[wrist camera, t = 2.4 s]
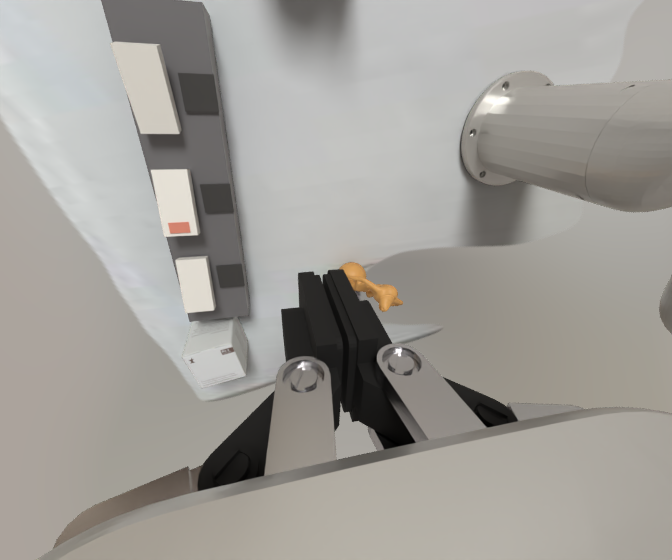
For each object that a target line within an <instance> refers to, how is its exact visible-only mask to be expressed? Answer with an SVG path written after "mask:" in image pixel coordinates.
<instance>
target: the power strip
mask: <svg viewBox="0 0 672 560" xmlns="http://www.w3.org/2000/svg"><path fill="white" fill-rule="evenodd" d="M101 1H102V5H103V9H104V12H105V16H106V20H107V23H108V27H109V30H110V34H111V38H112V41H113V42H130V43H146V44H160V46H161V50H162V54H163V58H164V62H165V66H166V70H167V74H168V78H169V82H170V86H171V89H172V93H173V97H174V101H175V105H176V109H177V113H178V117H179V121H180V125H181V129H182V130H181V132H180V134H141V133H140V130H139V127H138V124H137V121H136V118H135V115H134V112H133V109H132V106H131V103H130V100H129V103H130V107H131V110H132V114H133V118H134V121H135V125H136V128H137V132H138V136H139V139H140V143H141V147H142V150H143V154H144V157H145V161H146V165H147V168H148V172H149V176H150V179H151V183H152V187H153V190H154V194H155V189H154V184H153V179H152V174H151V170H168V169H189V170H190V173H191V179H192V185H193V191H194V197H195V203H196V210H197V216H198V222H199V228H200V234H199V235H190V236H171V237H167V241H168V245H169V248H170V252H171V255H172V259H173V263H174V266H175V270H176V274H177V277H178V272H177V267H176V262H175V260H176V259H178V258H182V257H197V256H208V259H209V266H210V272H211V278H212V285H213V291H214V297H215V304H216V307H215V310H213V311H203V312H193V313H187V314H188V317H189V321H190V322H193V321H202V320H212V319H221V318H231V317H240V316H249V301H250V297H249V290H248V283H247V276H246V269H245V262H244V255H243V248H242V241H241V234H240V227H239V220H238V213H237V206H236V199H235V192H234V185H233V178H232V171H231V164H230V157H229V149H228V142H227V135H226V128H225V121H224V114H223V107H222V100H221V93H220V86H219V79H218V72H217V65H216V58H215V51H214V44H213V37H212V30H211V23H210V16H209V13H208V12H207V10H206V8H205V6H204V5H203V3H202V2H192V1H181V0H101ZM127 96H128V95H127ZM128 99H129V97H128ZM155 197H156V194H155ZM156 201H157V199H156ZM157 205H158V204H157ZM178 281H179V277H178ZM179 285H180V282H179Z"/></svg>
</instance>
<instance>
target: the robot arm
mask: <svg viewBox="0 0 672 560" xmlns="http://www.w3.org/2000/svg"><path fill="white" fill-rule="evenodd" d="M461 150H462V158H463V162H464V165H465V167H466V169H467V171H468V172H469V173H470V175H471V176H472V177H473V178H475V179H476V180H478V181H479V182H482V183H484V184H487V185H492V186H501V185H506V184H510V183H512V182H514V181H517V180H519V181H522V182H525V183H529V184H532V185H535V186H539V187H542V188H545V189H548V190H552V191H555V192H558V193H561V194H565V195H568V196H571V197H575V198H578V199H581V200H584V201H588V202H591V203H594V204H597V205H601V206H605V207H608V208H611V209H615V210H620V211H625V212H649V211H656V210H661V209H665V208H669V207H672V79H668V80H651V81H632V82H613V83H594V84H575V85H556V86H554V84H553V82H552V81H551V80H550V79H549V78H548V77H547V76H545V75H543V74H542V73H540V72H535V71H519V72H514V73H510V74H508V75H506V76H504V77H501V78H500V79H498V80H497V81H496V82H494V83H493V84H491V85H490V86H489V87H488V88H487V89H486V90H485V91H484V92H483V93H482V95H481V96H480V97H479V98H478V100H477V101H476V102H475V104H474V106H473V108H472V109H471V111H470V113H469V115H468V118H467V120H466V123H465V126H464V130H463V134H462V142H461ZM298 285H299V307H298V308H289V309H281V313H282V326H283V337H284V347H285V357H286V363H284V364H283V365H282V366H281V368H280V369H279V370H278V374H277V377H276V385H275V391H274V392H273V393H272V394H271V395H270V396H269V397H268V398H267V399H266V400H265V401H264V402H263V403H262V404H261V405H260V406H259V407H258V408H257V409H256V410H255V411H254V412H253V413H252V414H251V415H250V416H249V417H248V418H247V419H246V420H245V421H244V422H243V423H242V424H241V425H240V426H239V427H238V428H237V429H236V430H235V431H234V432H233V433H232V434H231V435H230V436H229V437H228V438H227V439H226V440H225V441H224V442H223V443H222V444H221V445H220V446H219V447H218V448H217V449H216V450H215V451H214V452H213V453H212V454H211V455H210V456H209V458H208V459H207V460H206V461H205V462H204V464H203V465H201V466H199V467H196V468H194V469H192V470H189V467H185V468H183V469H181V470H178V471H176V472H173V473H171V474H168V475H166V476H163V477H161V478H159V479H156V480H154V481H151V482H149V483H147V484H144V485H142V486H139V487H137V488H135V489H132V490H130V491H127V492H125V493H123V494H120V495H118V496H115V497H113V498H110V499H108V500H106V501H103V502H101V503H99V504H96V505H94V506H92V507H91V508H89V509H87V510H85V511H84V512H82V513H81V514H79V515H78V516H77V517H76V518H75V519H74V520H73V521H72V522H70V523H69V524H68V525H67V527H66V528H65V529H64V531H63V532H62V534H61V535H60V536H59V537H58V539H57V541H56V543H55V545H54V548H53V549H52V550H51V551H49V552H48V553H46V554H45V555H43V556H41V557H40V558H38V559H36V560H672V413H668V412H662V411H656V410H650V409H644V408H629V407H605V408H591V409H583V408H581V407H578V406H572V405H558V404H531V403H508V405H507V407H506V406H505V405H503V404H502V403H500V402H498V401H496V400H495V399H492V398H490V397H488V396H486V395H483V394H481V393H479V392H476V391H474V390H471V389H469V388H467V387H465V386H462V385H460V384H458V383H455V382H453V381H451V380H448V379H446V378H444V377H442V376H441V375H440V374H439V373H438V371H437V370H436V369H435V368H434V367H433V366H432V365H431V363H430V362H429V361H428V360H427V359H426V358H425V357H424V355H423V354H422V353H420V352H419V351H418V350H417V349H415V348H413V347H411V346H409V345H405V344H399V343H394V344H392V342H391V340H390V338H389V337H388V335H387V333H386V331H385V329H384V328H383V326H382V324H381V322H380V320H379V319H378V317H377V315H376V313H375V312H374V310H373V308H372V306H371V304H370V303H369V301H367V300H364V301H359V299H358V297H357V295H356V293H355V291H354V289H353V287H352V285H351V283H350V281H349V280H348V278H347V276H346V274H345V272H344V270H343V269H338V270H328V274H324V275H323V284H322V281H321V278H320V276H319V275H314V272H302V273H298ZM659 312H660V317H661V320H662V322H663V323H664V326H665V327H666V328H667V330H668V331H669V332H670V333H671V334H672V275H671V278H670V280H669V281H668V283H667V285H666V287H665V290H664V292H663V294H662V297H661V300H660V307H659ZM340 402H341V404H342V408H343V411H344V412H350V416H351V419H352V422H354V421H360V422H361V423H363V424H365V425H366V426H368V432H369V435H370V437H371V439H372V441H373V443H374V445H375V447H376V449H377V451H376V452H372V453H367V454H362V455H357V456H353V457H348V458H343V459H339V460H336V446H335V433H334V432H335V430H336V429H337V427H338V426H339V416H340Z"/></svg>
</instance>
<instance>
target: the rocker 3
mask: <svg viewBox="0 0 672 560" xmlns="http://www.w3.org/2000/svg"><path fill="white" fill-rule="evenodd" d="M175 262H176V267H177V272H178V277H179V282H180V288H181V293H182V298H183V303H184V308H185V313H193V312H203V311H213V310H215V307H216V304H215V297H214V291H213V285H212V278H211V272H210V266H209V259H208V256H197V257H182V258H178V259H176V260H175Z"/></svg>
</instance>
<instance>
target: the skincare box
mask: <svg viewBox="0 0 672 560" xmlns="http://www.w3.org/2000/svg"><path fill="white" fill-rule="evenodd" d="M247 346H248V340H247V337H246V335H245V333H244V330H243V328H242V326H241V324H240V321H239V319H238V317H231V318H221V319H212V320H202V321H193V322H192V323H191V326H190V330H189V333H188V337H187V340H186V344H185V347H184V350H183V354H182V359H183V360H184V362H185V363H186V365H187V366H188V368H189V370H190V371H191V373H192V374H193V376H194V377H195V379H196V381H197V383H198V384H199V386H200V387H201V388H206V387H209V386H212V385H216V384H219V383H223V382H227V381H230V380H234V379H237V378H241V377H245V376H246V371H247Z"/></svg>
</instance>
